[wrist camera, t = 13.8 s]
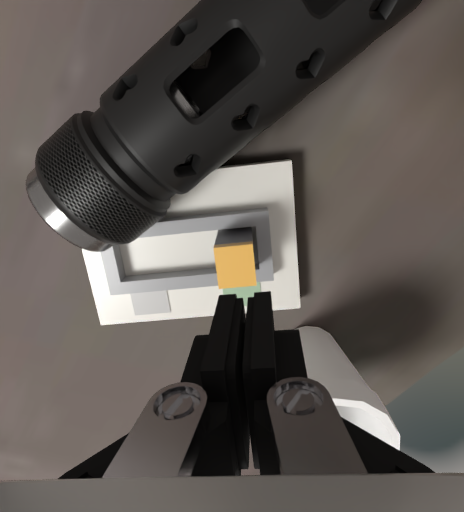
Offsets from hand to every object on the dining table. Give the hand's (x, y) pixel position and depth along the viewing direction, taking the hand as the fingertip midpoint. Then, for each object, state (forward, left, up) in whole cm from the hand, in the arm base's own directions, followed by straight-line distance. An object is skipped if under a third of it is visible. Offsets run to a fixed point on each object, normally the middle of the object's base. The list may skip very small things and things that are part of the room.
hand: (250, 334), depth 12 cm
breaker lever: (+1, +4, -22) cm, 22 cm away
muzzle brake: (+2, -9, -24) cm, 25 cm away
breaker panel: (+6, +4, -24) cm, 25 cm away
